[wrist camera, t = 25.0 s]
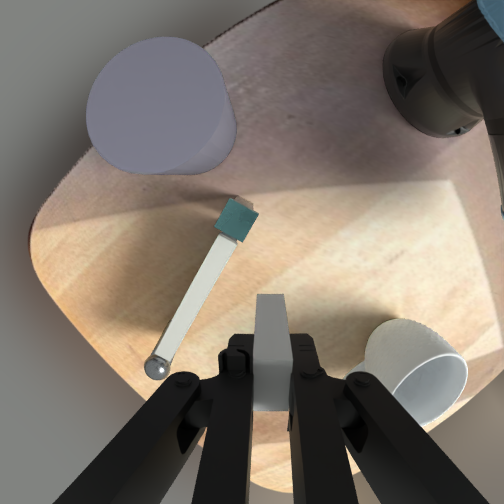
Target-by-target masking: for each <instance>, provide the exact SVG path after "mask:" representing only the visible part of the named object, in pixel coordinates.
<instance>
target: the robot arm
mask: <svg viewBox="0 0 504 504" xmlns="http://www.w3.org/2000/svg"><path fill="white" fill-rule="evenodd" d="M383 75H384V81H385V84H386V87H387V90H388V93H389V95H390V97H391V99H392V101H393V103H394V104H395V106H396V107H397V109H398V110H399V112H400V113H401V114H402V115H403V117H404V118H405V119H406V120H407V121H408V122H409V123H410V124H412V125H413V126H414V127H415V128H417V129H418V130H420V131H422V132H423V133H425V134H428V135H430V136H433V137H438V138H449V137H456V136H460V135H463V134H465V133H467V132H468V131H470V130H471V129H472V128H473V127H475V126H476V125H477V124H478V123H479V122H481V121H482V120H483V119H484V120H485V124H486V128H487V131H488V136H489V140H490V144H491V148H492V152H493V157H494V162H495V167H496V172H497V177H498V183H499V189H500V195H501V203H502V205H501V215H502V218H503V220H504V0H472V1H470V2H469V3H468V4H466V5H465V6H463V7H462V8H460V9H459V10H458V11H456V12H455V13H453V14H452V15H451V16H449V17H448V18H447V19H445V20H444V21H442V22H441V23H440V24H438V25H437V26H435V27H427V28H421V29H414V30H410V31H407V32H405V33H403V34H401V35H400V36H399V37H397V38H396V39H395V40H394V41H393V42H392V43H391V44H390V45H389V47H388V48H387V50H386V53H385V56H384V60H383ZM218 361H219V374H218V375H217V376H215V377H212V378H209V379H202V380H200V379H199V377H198V376H197V375H196V374H194V373H191V372H185V371H183V372H176V373H174V374H171V375H170V376H169V377H168V378H167V379H166V380H165V381H164V382H163V383H162V384H161V386H160V387H159V388H158V389H157V390H156V391H155V392H154V393H153V395H152V396H151V397H150V398H149V399H148V400H147V401H146V403H145V404H144V405H143V406H142V407H141V408H140V409H139V410H138V411H137V413H136V414H135V415H134V416H133V417H132V418H131V419H130V420H129V422H128V423H127V424H126V425H125V426H124V427H123V428H122V429H121V430H120V431H119V433H118V434H117V435H116V436H115V437H114V438H113V439H112V440H111V442H109V444H108V445H107V446H106V447H105V448H104V449H103V450H102V451H101V452H100V453H99V455H98V456H97V457H96V458H95V459H94V460H93V461H92V462H91V463H90V464H89V465H88V467H87V468H86V469H85V470H84V471H83V472H82V473H81V474H80V475H79V476H78V477H77V478H76V479H75V481H74V482H73V483H72V484H71V485H70V486H69V487H68V488H67V489H66V490H65V491H64V492H63V493H62V494H61V495H60V496H59V498H58V499H57V500H56V501H55V502H54V503H53V504H160V502H161V500H162V499H163V498H164V496H165V494H166V493H167V491H168V489H169V488H170V487H171V485H172V483H173V482H174V480H175V479H176V477H177V475H178V474H179V472H180V471H181V469H182V468H183V466H184V464H185V463H186V461H187V459H188V457H189V456H190V455H191V453H192V451H193V450H194V448H195V446H196V445H197V443H198V441H199V440H200V438H201V436H202V435H203V433H204V431H205V428H206V427H207V432H206V437H205V441H204V446H203V451H202V455H201V460H200V465H199V470H198V474H197V479H196V484H195V489H194V494H193V498H192V503H191V504H249V487H250V469H251V450H252V431H253V411H288V410H289V419H288V428H287V431H289V434H290V449H291V464H292V480H293V498H294V504H359V503H358V499H357V494H356V490H355V485H354V481H353V477H352V472H351V468H350V464H349V460H348V455H347V451H346V447H347V449H348V451H349V452H350V454H351V456H352V457H353V459H354V461H355V462H356V464H357V465H358V467H359V469H360V470H361V472H362V473H363V475H364V477H365V478H366V480H367V482H368V483H369V485H370V487H371V488H372V490H373V491H374V493H375V494H376V496H377V498H378V499H379V501H380V503H381V504H489V503H488V501H487V500H486V499H485V498H484V497H483V496H482V495H481V494H480V493H479V491H478V490H477V489H476V488H475V487H474V486H473V484H472V483H471V482H470V481H469V480H468V479H467V478H466V477H465V475H464V474H463V473H462V472H461V471H460V470H459V469H458V468H457V467H456V465H455V464H454V463H453V462H452V461H451V460H450V459H449V457H448V456H447V455H446V454H445V453H444V452H443V451H442V450H441V449H440V447H439V446H438V445H437V444H436V443H435V442H434V441H433V440H432V438H431V437H430V436H429V435H428V434H427V433H426V432H425V431H424V429H423V428H422V427H421V426H420V425H419V424H418V423H417V422H416V421H415V419H414V418H413V417H412V416H411V415H410V414H409V413H408V412H407V411H406V409H405V408H404V407H403V406H402V405H401V404H400V403H399V402H398V401H397V399H396V398H395V397H394V396H393V395H392V394H391V393H390V392H389V391H388V389H387V388H386V387H385V386H384V385H383V384H382V383H381V382H380V381H379V380H378V378H377V377H375V376H374V375H373V374H371V373H368V372H363V371H357V372H353V373H350V374H349V375H348V376H347V377H346V380H344V379H337V378H333V377H330V376H328V375H327V374H326V372H325V370H324V369H323V368H322V367H320V363H319V360H318V356H317V352H316V348H315V345H314V341H313V338H312V337H311V336H309V335H308V334H289V328H288V321H287V314H286V307H285V300H284V294H257V302H256V317H255V333H254V334H234V335H233V336H232V337H231V338H230V339H229V343H228V348H227V349H224V350H223V351H221V352H220V353H219V355H218ZM345 446H346V447H345Z"/></svg>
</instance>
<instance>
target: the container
mask: <svg viewBox="0 0 504 504" xmlns="http://www.w3.org/2000/svg"><path fill="white" fill-rule="evenodd" d="M86 123H87V129H88V134H89V136H90V139H91V142H92V144H93V146H94V147H95V149H96V150H97V152H98V153H99V155H100V156H101V157H103V158H104V159H105V160H106V161H107V162H108V163H109V164H111V165H113V166H114V167H116V168H118V169H119V170H122V171H126V172H129V173H133V174H144V175H195V174H200V173H204V172H207V171H209V170H211V169H213V168H215V167H216V166H217V165H219V164H220V163H221V162H222V161H223V160H224V159H225V158H226V157H227V156H228V154H229V152H230V151H231V149H232V147H233V145H234V142H235V138H236V132H237V128H236V120H235V116H234V112H233V109H232V105H231V102H230V99H229V96H228V92H227V89H226V86H225V83H224V79H223V76H222V73H221V71H220V69H219V67H218V65H217V63H216V62H215V60H214V59H213V58H212V57H211V56H210V54H209V53H208V52H207V51H206V50H204V49H203V48H201V47H200V46H198V45H197V44H195V43H193V42H190V41H188V40H186V39H182V38H176V37H155V38H150V39H145V40H142V41H140V42H137V43H135V44H132V45H130V46H129V47H127V48H125V49H124V50H122V51H121V52H119V53H118V54H117V55H116V56H115V57H113V58H112V59H111V60H110V61H109V62H108V63H107V64H106V66H105V67H104V68H103V69H102V70H101V72H100V73H99V75H98V77H97V78H96V80H95V81H94V83H93V86H92V88H91V91H90V94H89V98H88V102H87V107H86Z"/></svg>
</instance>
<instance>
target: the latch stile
mask: <svg viewBox="0 0 504 504" xmlns="http://www.w3.org/2000/svg"><path fill="white" fill-rule="evenodd" d="M258 215H259V213H257V212H256V211H254V210H253V204H252V203H251V202H249V201H247V200H245V199H243V198H242V197H240V196H237V197H236V198H235V199H232V198H230V199H229V200H228V202H227V204H226V206H225V208H224V209H223V211H222V213H221V215H220V217H219V219H218V220H217V222H216V224H215V226H214V227H215V228H217V229H219V230H221V231H223V232H224V233H226V234H228V235H230V236H232V237H233V238H235V239H237V240H239V241H241V242H243V241H244V239H245V237H246V236H247V234H248V232H249V230H250V229H251V227H252V225H253V223H254V222H255V220H256V218H257V217H258Z"/></svg>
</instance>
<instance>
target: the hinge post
mask: <svg viewBox="0 0 504 504" xmlns="http://www.w3.org/2000/svg"><path fill="white" fill-rule="evenodd" d="M171 321H172V320H170V321H169V322H168V324H167V326H166V328H165V329H164V331H163V333H162V335H161V337H160V339H159V340H158V342H157V344H156V346H155V348H154V350H153V352H152V353H151V355H150V356H149V357H148V358H147V359H146V361H145V363H144V370H145V373H146V374H147V376H148V377H150V378H151V379H153V380H162V379H165V378H166V377H167V376H168V375H169V373H170V365H171V363H172V360H173V358H174V356H173V358H172V359H171V361H170V362H169V361H168V360H166V359H164V358H162V357H160V356H158V355H156V354H155V352H156V350H157V348H158V346H159V344H160V342H161V340H162V338H163V336H164V334H165V332H166V330H167V328H168V327H169V325H170V323H171ZM175 353H176V352H175ZM174 355H175V354H174Z"/></svg>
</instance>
